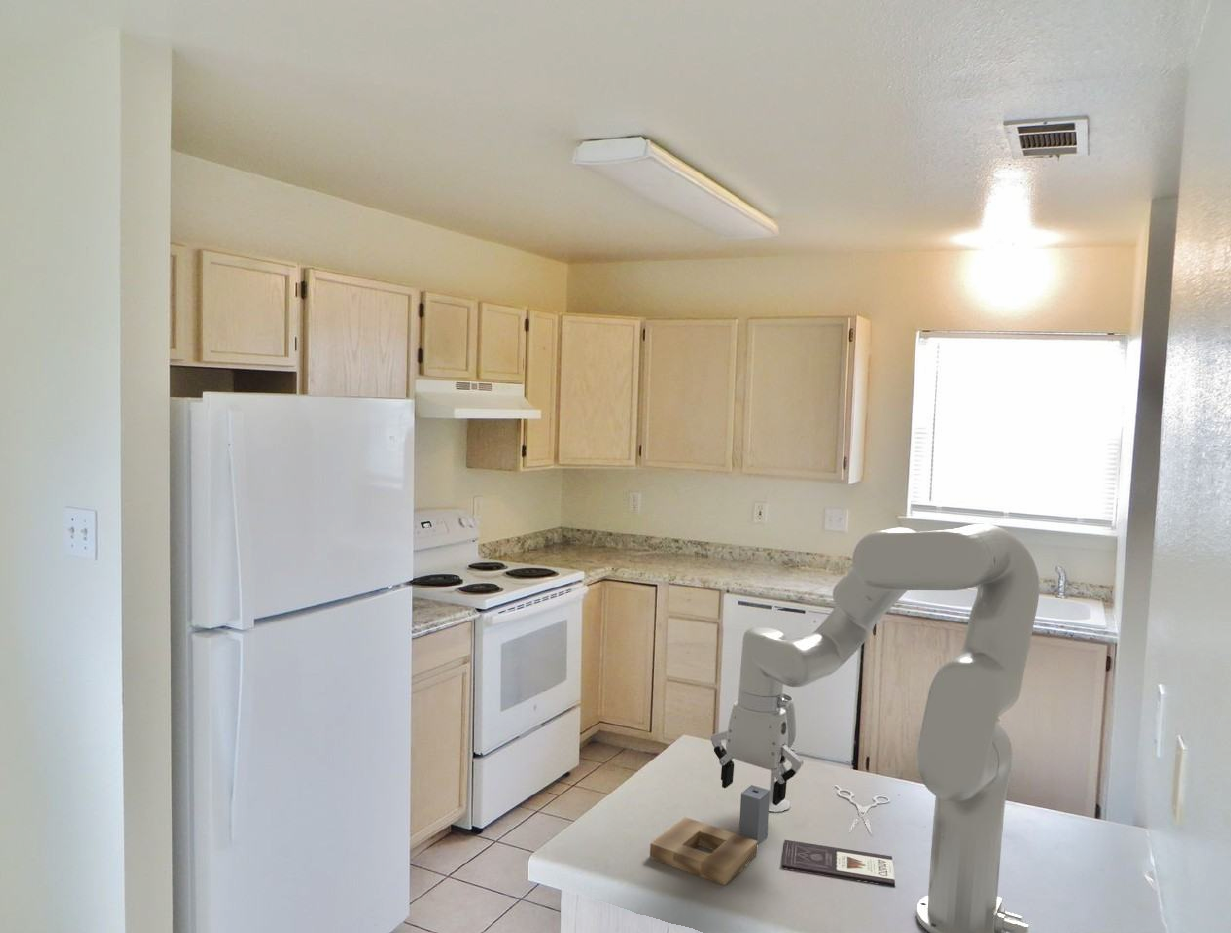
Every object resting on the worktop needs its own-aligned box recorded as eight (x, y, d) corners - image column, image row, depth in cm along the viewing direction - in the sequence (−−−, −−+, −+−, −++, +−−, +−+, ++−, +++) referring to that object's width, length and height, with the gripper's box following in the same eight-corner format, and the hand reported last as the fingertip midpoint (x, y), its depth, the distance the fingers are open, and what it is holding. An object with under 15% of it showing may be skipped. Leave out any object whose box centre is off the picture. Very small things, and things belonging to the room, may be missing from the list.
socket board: (756, 855, 151) (757, 840, 151) (725, 885, 141) (726, 870, 141) (684, 830, 159) (685, 816, 159) (649, 857, 149) (650, 843, 149)
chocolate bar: (784, 839, 156) (891, 856, 152) (784, 844, 156) (891, 861, 152) (781, 864, 147) (894, 883, 143) (781, 870, 148) (894, 889, 143)
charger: (767, 836, 158) (770, 789, 157) (757, 846, 154) (759, 797, 154) (748, 830, 160) (751, 783, 159) (738, 840, 156) (740, 792, 156)
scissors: (889, 793, 178) (891, 837, 159) (889, 797, 178) (891, 842, 159) (835, 784, 181) (830, 827, 162) (834, 788, 181) (830, 831, 162)
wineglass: (743, 798, 173) (749, 692, 172) (776, 792, 176) (782, 688, 175) (766, 815, 166) (772, 705, 165) (799, 809, 169) (805, 701, 168)
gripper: (814, 706, 154) (806, 801, 155) (724, 682, 163) (717, 772, 165) (798, 718, 148) (789, 817, 149) (705, 692, 157) (698, 786, 158)
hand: (752, 793), depth 157 cm, fingers open, 9 cm apart
